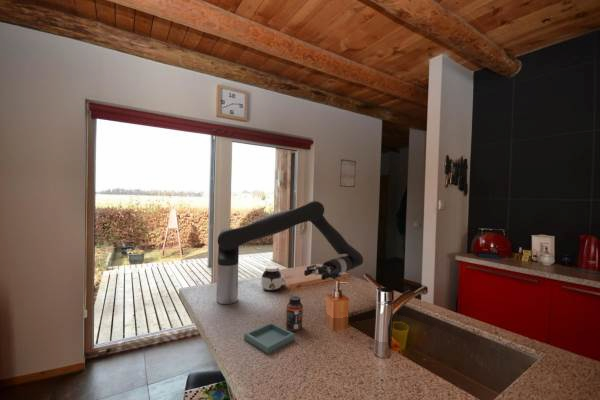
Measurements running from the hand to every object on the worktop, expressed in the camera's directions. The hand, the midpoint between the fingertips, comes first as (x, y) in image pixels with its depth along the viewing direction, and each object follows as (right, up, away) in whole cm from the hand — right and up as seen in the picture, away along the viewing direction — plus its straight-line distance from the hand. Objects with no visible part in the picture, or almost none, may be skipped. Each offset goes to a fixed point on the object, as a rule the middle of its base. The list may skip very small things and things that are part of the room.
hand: (313, 275), depth 110 cm
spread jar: (-19, -17, +35) cm, 43 cm away
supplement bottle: (-8, -17, -9) cm, 21 cm away
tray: (-16, -17, -17) cm, 29 cm away
